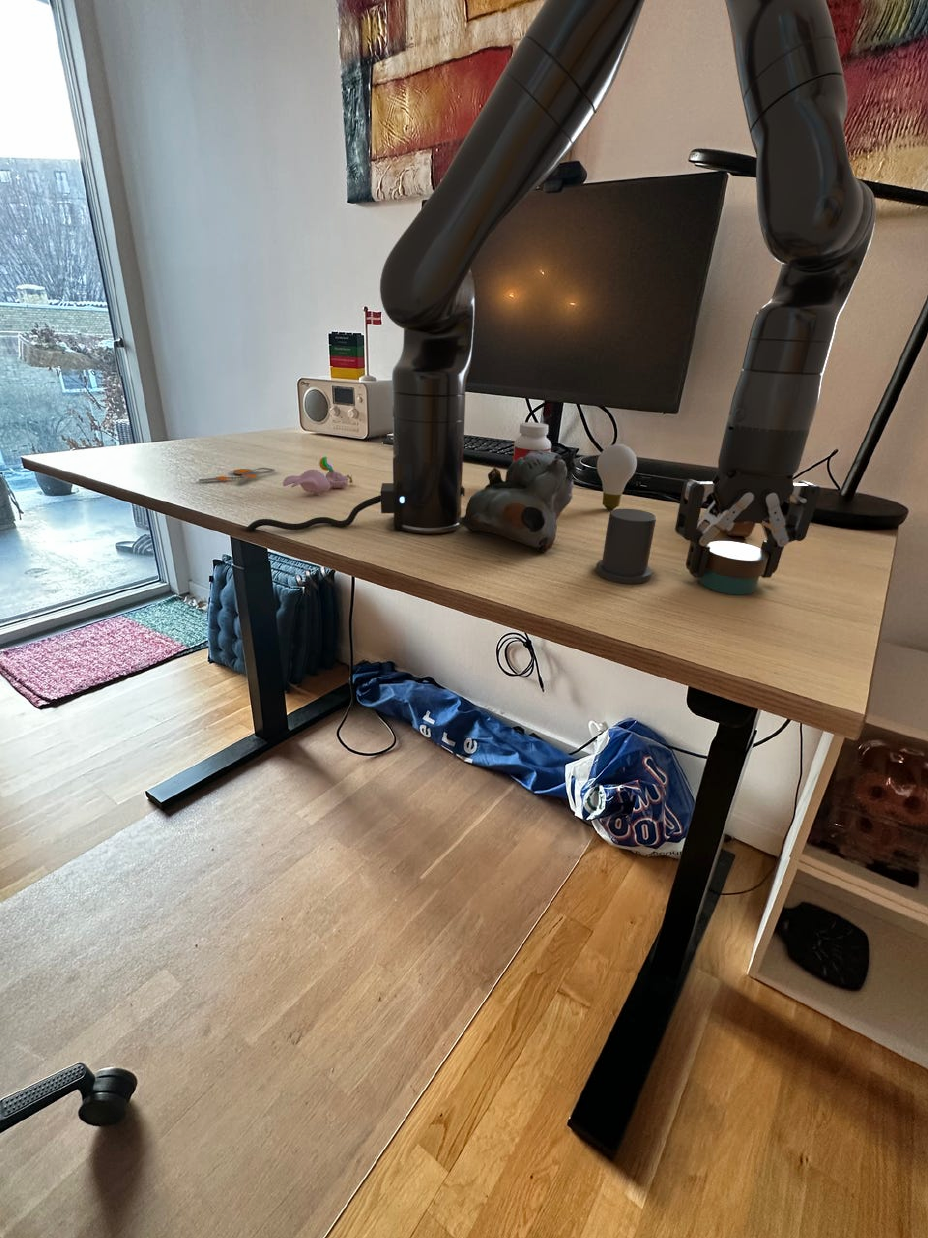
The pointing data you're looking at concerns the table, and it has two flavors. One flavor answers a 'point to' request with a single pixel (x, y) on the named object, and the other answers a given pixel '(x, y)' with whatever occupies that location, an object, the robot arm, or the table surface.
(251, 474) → the key chain
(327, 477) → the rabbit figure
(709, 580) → the teal chip
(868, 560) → the table surface
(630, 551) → the upturned cup
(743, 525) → the tin
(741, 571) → the walnut chip
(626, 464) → the light bulb
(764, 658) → the table surface
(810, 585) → the table surface
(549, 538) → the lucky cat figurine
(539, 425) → the pill bottle
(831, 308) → the robot arm
